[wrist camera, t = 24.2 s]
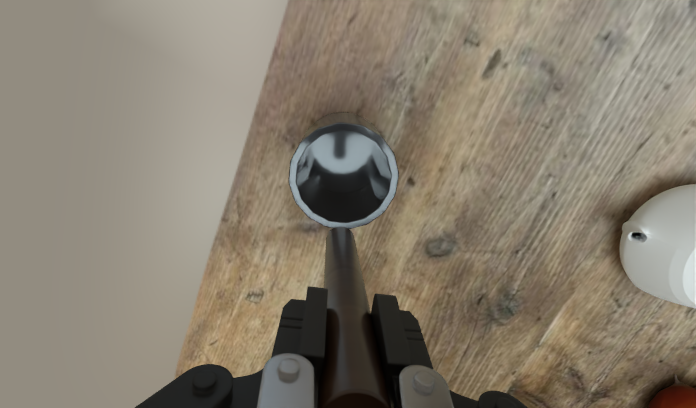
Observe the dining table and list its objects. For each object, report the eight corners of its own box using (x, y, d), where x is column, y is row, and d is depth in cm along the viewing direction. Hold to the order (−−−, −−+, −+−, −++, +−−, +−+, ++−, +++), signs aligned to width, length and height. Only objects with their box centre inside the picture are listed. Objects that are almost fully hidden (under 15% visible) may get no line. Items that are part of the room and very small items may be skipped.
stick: (321, 245, 25) (302, 441, 9) (334, 221, 24) (338, 378, 9) (346, 257, 25) (371, 470, 9) (359, 233, 25) (407, 409, 9)
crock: (296, 190, 39) (284, 222, 31) (304, 106, 37) (293, 116, 28) (377, 200, 40) (388, 234, 31) (391, 118, 37) (407, 130, 29)
